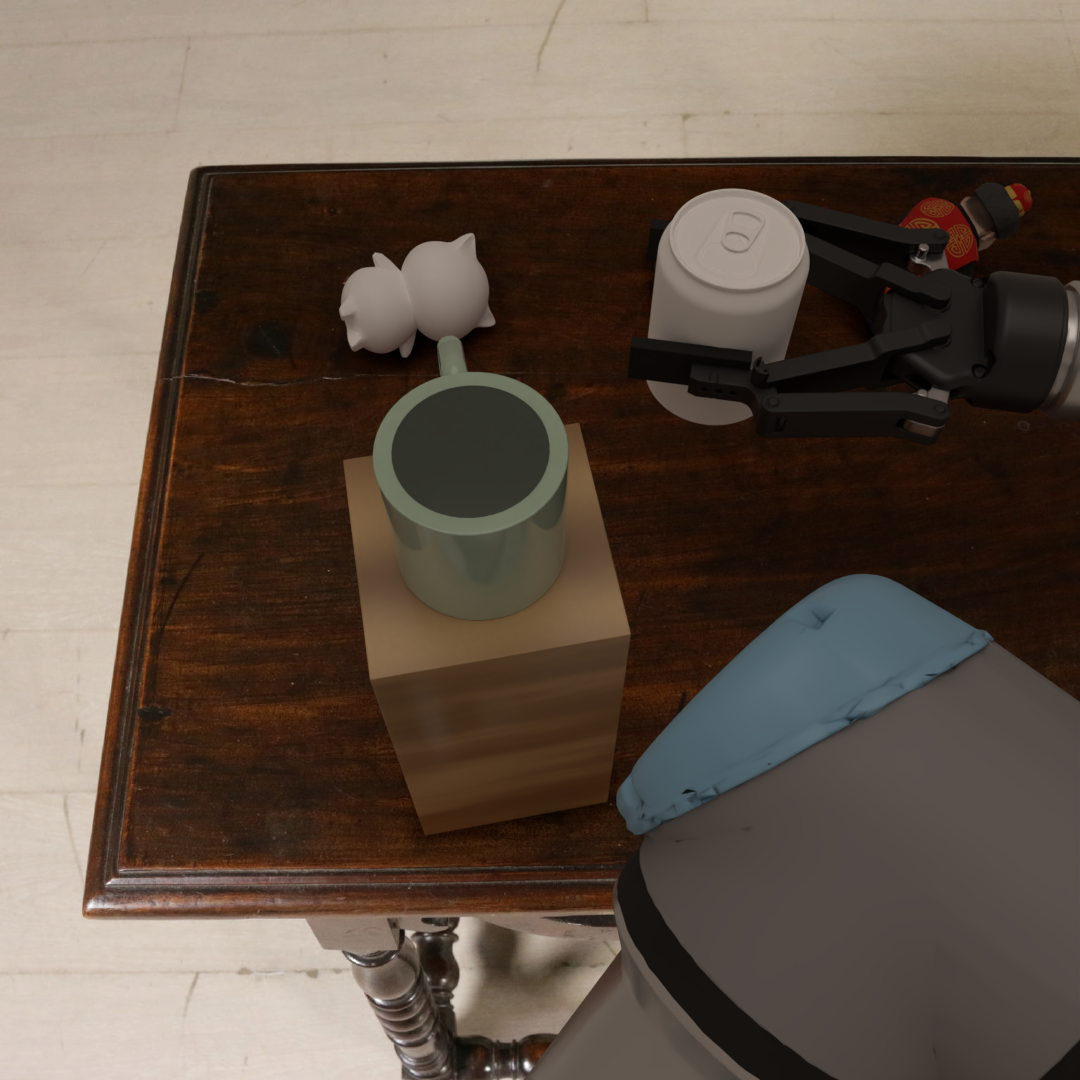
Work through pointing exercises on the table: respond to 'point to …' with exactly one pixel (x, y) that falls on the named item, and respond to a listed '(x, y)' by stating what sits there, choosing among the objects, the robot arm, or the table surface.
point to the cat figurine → (417, 297)
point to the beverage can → (727, 287)
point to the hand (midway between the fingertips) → (640, 296)
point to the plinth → (497, 673)
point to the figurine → (970, 223)
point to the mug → (474, 490)
